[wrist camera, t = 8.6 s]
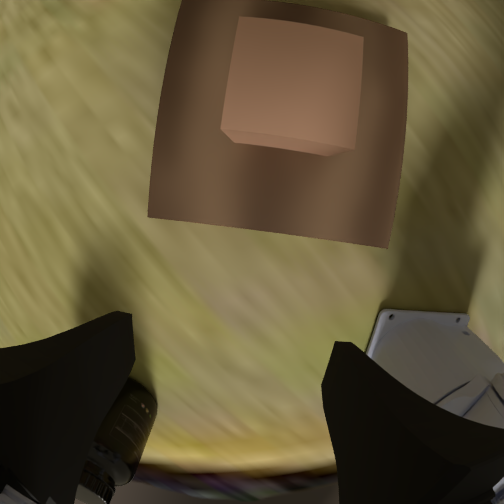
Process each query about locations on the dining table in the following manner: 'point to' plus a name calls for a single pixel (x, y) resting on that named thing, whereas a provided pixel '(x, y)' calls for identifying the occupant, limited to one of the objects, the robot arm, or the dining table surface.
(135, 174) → the dining table surface
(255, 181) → the walnut base
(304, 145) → the terracotta cube
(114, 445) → the supplement bottle
